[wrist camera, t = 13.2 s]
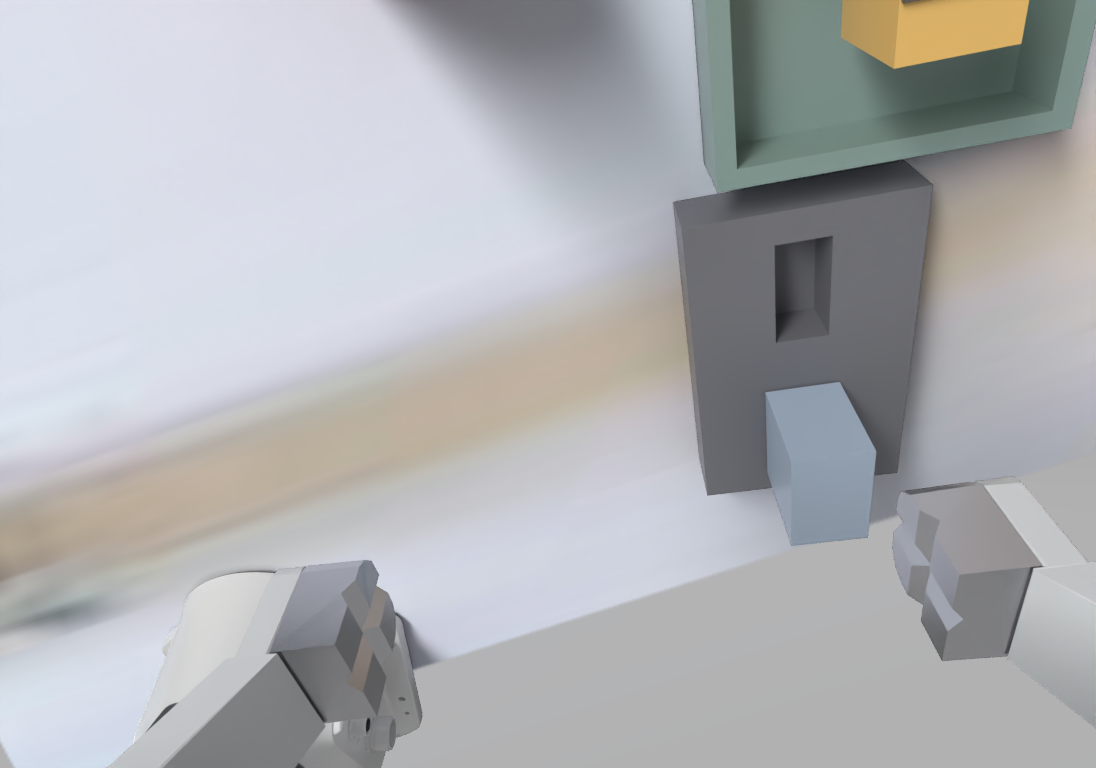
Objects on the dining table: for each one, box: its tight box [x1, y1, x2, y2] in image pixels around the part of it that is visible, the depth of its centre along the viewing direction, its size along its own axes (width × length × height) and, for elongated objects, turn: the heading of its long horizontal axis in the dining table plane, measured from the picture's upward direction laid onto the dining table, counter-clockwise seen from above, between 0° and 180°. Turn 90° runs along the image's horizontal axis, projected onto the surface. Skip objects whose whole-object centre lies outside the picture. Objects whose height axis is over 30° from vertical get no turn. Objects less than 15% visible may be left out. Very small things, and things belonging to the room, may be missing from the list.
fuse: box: [765, 382, 876, 546], centre depth 34 cm, size 6×4×8 cm, turn 12°
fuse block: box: [673, 160, 933, 496], centre depth 34 cm, size 16×10×3 cm, turn 12°
